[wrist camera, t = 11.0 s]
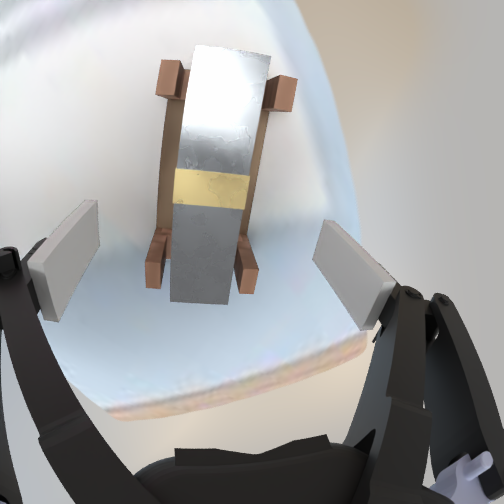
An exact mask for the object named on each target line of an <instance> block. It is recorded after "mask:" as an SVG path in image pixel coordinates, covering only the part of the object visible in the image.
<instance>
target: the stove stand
mask: <svg viewBox="0 0 504 504" xmlns="http://www.w3.org/2000/svg"><path fill="white" fill-rule="evenodd" d="M190 72H191V70H187V69H184V68H183V66H182V63H181V61H180V60H161V65H160V70H159V76H158V81H157V87H156V94H155V95H158V96H161V97H164V98H167V99H168V102H167V109H166V116H165V123H164V131H163V140H162V149H161V160H160V171H159V184H158V201H157V224H156V230H155V233H154V236H153V239H152V242H151V245H150V248H149V251H148V254H147V257H146V260H145V277H146V288H155V289H161V283H162V278H163V272H164V267H165V262H166V259H171V241H172V222H173V207H174V203H173V190H174V179H175V169H176V167H177V162H178V152H179V144H180V136H181V128H182V121H183V114H184V108H185V101H186V95H187V89H188V83H189V78H190ZM297 80H298V79H296V78H292V77H287V76H283V75H279V76H276V77H274V78H272V79H270V80H266V85H265V90H264V96H263V101H262V106H261V112H260V117H259V122H258V128H257V133H256V139H255V144H254V150H253V156H252V161H251V167H250V173H249V175H250V181H249V186H248V192H247V198H246V204H245V209H244V210H243V213H242V219H241V225H240V231H239V237H238V243H237V249H236V255H235V262H234V271H235V276H236V281H237V285H238V290H239V294H254V290H255V285H256V280H257V276H258V271H259V269H258V266H257V263H256V260H255V257H254V254H253V252H252V249H251V246H250V243H249V240H248V237H247V230H248V224H249V219H250V213H251V208H252V202H253V197H254V191H255V186H256V180H257V175H258V169H259V164H260V159H261V153H262V148H263V142H264V137H265V132H266V127H267V121H268V116H269V111H277V112H291V111H292V106H293V101H294V96H295V91H296V85H297Z"/></svg>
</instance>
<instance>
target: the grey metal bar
mask: <svg viewBox="0 0 504 504" xmlns="http://www.w3.org/2000/svg"><path fill="white" fill-rule="evenodd" d="M270 59H271V56H268V55H263V54H258V53H252V52H247V51H241V50H234V49H228V48H220V47H211V46H201V45H196V47H195V52H194V57H193V62H192V67H191V72H190V78H189V83H188V89H187V95H186V101H185V108H184V114H183V121H182V128H181V136H180V144H179V152H178V162H177V167H176V169H175V179H174V190H173V203H174V207H173V222H172V241H171V272H170V302H185V303H203V304H224V305H228V299H229V293H230V287H231V280H232V274H233V268H234V262H235V255H236V249H237V243H238V237H239V231H240V225H241V219H242V213H243V210H244V209H245V204H246V198H247V192H248V186H249V181H250V175H249V173H250V167H251V161H252V156H253V150H254V144H255V139H256V133H257V128H258V122H259V117H260V112H261V106H262V101H263V96H264V90H265V85H266V80H267V75H268V70H269V64H270Z"/></svg>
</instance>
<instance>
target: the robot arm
mask: <svg viewBox="0 0 504 504" xmlns="http://www.w3.org/2000/svg"><path fill="white" fill-rule="evenodd" d="M99 246H100V241H99V227H98V206H97V201H96V200H85V201H84V202H83V203H82V204H81V205H80V206H79V207H78V208H76V209H75V210H74V211H73V212H72V213H71V214H70V215H69V216H68V217H67V218H66V219H65V220H64V221H63V222H62V223H61V224H60V225H59V226H58V228H57V229H56V230H55V231H54V232H53V233H52V234H51V235H50V236H49V237H48V238H44V239H42V240H41V241H39V242H37V243H36V244H35V246H34V247H33V248H32V249H31V250H30V251H29V252H28V254H26V256H25V257H24V258H23V259H22V260H21V261H20V257H19V253H18V250H17V248H15V247H4V248H1V249H0V504H23V502H22V497H21V493H20V490H19V486H18V482H17V479H16V475H15V471H14V468H13V463H12V459H11V455H10V451H9V445H8V440H7V434H6V428H5V421H4V413H3V404H2V391H1V334H2V333H1V332H2V330H4V334H5V338H6V342H7V347H8V350H9V354H10V358H11V361H12V364H13V368H14V370H15V374H16V377H17V380H18V382H19V385H20V388H21V391H22V394H23V396H24V399H25V402H26V404H27V407H28V409H29V411H30V413H31V416H32V418H33V421H34V423H35V425H36V427H37V429H38V432H39V434H40V437H39V438H38V440H39V444H40V446H41V448H42V450H43V452H44V454H45V456H46V458H47V460H48V461H49V463H50V465H51V467H52V468H53V470H54V472H55V473H56V475H57V477H58V478H59V480H60V482H61V483H62V485H63V486H64V488H65V489H66V491H67V492H68V494H69V495H70V497H71V498H72V499H73V501H74V502H75V504H489V503H491V502H493V501H495V500H496V499H498V498H500V497H501V496H503V495H504V429H503V427H502V423H501V420H500V416H499V413H498V409H497V406H496V403H495V400H494V397H493V393H492V390H491V387H490V385H489V382H488V380H487V376H486V374H485V371H484V368H483V366H482V363H481V361H480V359H479V356H478V354H477V352H476V349H475V347H474V344H473V342H472V340H471V338H470V336H469V333H468V331H467V329H466V327H465V325H464V323H463V321H462V319H461V317H460V315H459V313H458V311H457V309H456V307H455V305H454V303H453V302H452V301H451V300H450V299H449V297H448V296H446V295H444V294H440V293H435V294H434V295H433V297H432V299H431V301H429V300H424V298H423V296H422V294H421V293H420V292H419V291H417V290H416V289H414V288H412V287H409V286H401V285H400V284H399V283H398V282H397V281H396V280H395V279H394V278H393V277H392V276H391V275H389V273H388V272H387V271H386V270H385V269H384V268H383V267H382V266H381V265H380V264H379V263H378V262H377V261H376V260H375V259H374V258H372V256H371V255H370V254H369V253H368V252H367V251H366V250H365V249H364V248H363V247H362V246H361V245H359V244H358V243H357V242H356V241H355V240H354V239H353V238H352V237H351V236H350V235H349V234H348V233H347V232H346V231H345V230H344V229H343V228H342V227H341V226H340V225H338V224H337V223H336V222H335V221H331V220H324V221H323V225H322V228H321V232H320V235H319V239H318V242H317V245H316V249H315V252H314V255H313V259H312V260H313V261H314V262H315V264H316V265H317V267H318V268H319V270H320V271H321V273H322V274H323V275H324V277H325V278H326V280H327V281H328V283H329V284H330V286H331V287H332V289H333V290H334V292H335V293H336V295H337V296H338V297H339V299H340V300H341V302H342V303H343V305H344V306H345V308H346V310H347V311H348V313H349V314H350V316H351V317H352V319H353V320H354V322H355V323H356V325H357V326H358V328H359V329H360V331H362V330H372V329H373V328H374V326H375V324H376V322H377V320H379V321H380V322H381V324H382V325H381V327H380V329H379V331H378V332H377V334H376V336H375V338H374V339H373V341H372V342H373V343H374V342H375V341H376V343H375V347H374V351H373V355H372V359H371V363H370V367H369V370H368V374H367V377H366V381H365V384H364V388H363V391H362V394H361V397H360V400H359V403H358V406H357V409H356V412H355V415H354V418H353V421H352V423H351V426H350V429H349V432H348V434H347V436H346V439H345V440H344V442H343V444H339V443H330V442H329V440H328V437H327V435H326V434H325V435H321V436H316V437H311V438H306V439H300V440H294V441H292V442H289V443H287V444H285V445H282V446H279V447H277V448H274V449H272V450H269V451H266V452H264V453H261V454H246V453H239V452H233V451H226V450H220V449H181V448H179V449H178V448H175V457H170V458H165V459H162V460H159V461H156V462H154V463H152V464H149V465H148V466H146V467H144V468H142V469H141V470H140V471H138V472H137V473H136V474H135V475H134V476H133V475H132V474H131V472H130V471H129V470H128V469H127V468H126V466H125V465H124V464H123V463H122V462H121V461H120V459H119V458H118V457H117V455H116V454H115V453H114V452H113V450H112V449H111V448H110V446H109V445H108V444H107V442H106V441H105V440H104V438H103V437H102V436H101V434H100V433H99V431H98V430H97V428H96V427H95V426H94V424H93V423H92V421H91V420H90V418H89V417H88V415H87V414H86V412H85V411H84V409H83V408H82V406H81V405H80V403H79V401H78V399H77V398H76V396H75V394H74V393H73V391H72V389H71V387H70V385H69V384H68V382H67V380H66V378H65V376H64V374H63V372H62V370H61V368H60V366H59V364H58V362H57V360H56V358H55V356H54V354H53V352H52V350H51V347H50V345H49V343H48V341H47V338H46V336H45V334H44V331H43V329H42V326H41V324H40V321H39V319H38V316H37V314H38V312H39V310H40V309H41V312H42V315H43V318H44V320H48V321H53V322H59V321H60V319H61V317H62V315H63V313H64V311H65V308H66V306H67V304H68V302H69V300H70V298H71V296H72V294H73V292H74V291H75V289H76V287H77V285H78V283H79V281H80V279H81V277H82V276H83V274H84V272H85V270H86V268H87V267H88V265H89V263H90V261H91V260H92V258H93V256H94V254H95V253H96V251H97V249H98V248H99ZM438 332H439V333H438ZM437 334H438V336H437V338H436V339H435V337H436V335H437ZM423 401H424V404H425V409H424V408H423ZM429 445H430V455H431V465H432V470H433V475H434V478H435V482H436V483H435V484H433V485H432V486H431V487H430V488H427V487H425V486H423V485H422V484H423V479H424V474H425V469H426V464H427V457H428V451H429Z"/></svg>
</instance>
